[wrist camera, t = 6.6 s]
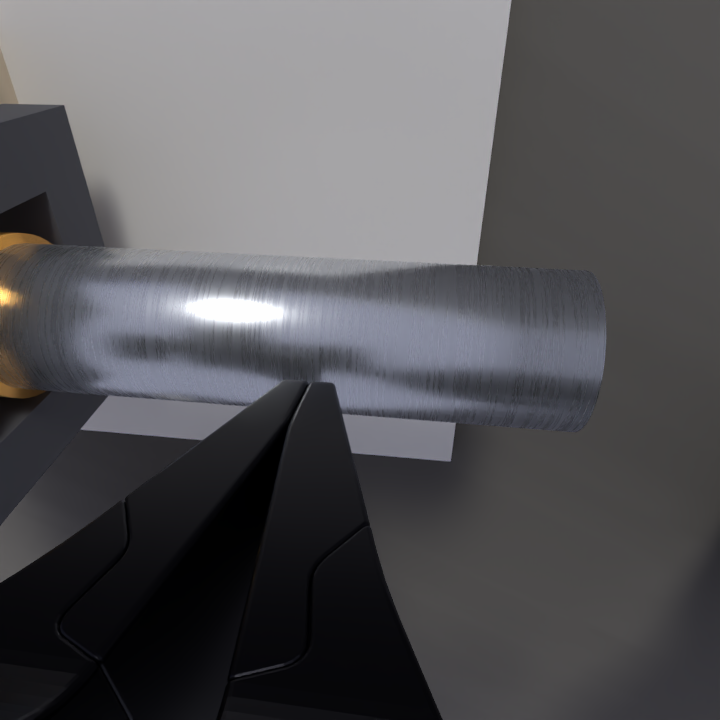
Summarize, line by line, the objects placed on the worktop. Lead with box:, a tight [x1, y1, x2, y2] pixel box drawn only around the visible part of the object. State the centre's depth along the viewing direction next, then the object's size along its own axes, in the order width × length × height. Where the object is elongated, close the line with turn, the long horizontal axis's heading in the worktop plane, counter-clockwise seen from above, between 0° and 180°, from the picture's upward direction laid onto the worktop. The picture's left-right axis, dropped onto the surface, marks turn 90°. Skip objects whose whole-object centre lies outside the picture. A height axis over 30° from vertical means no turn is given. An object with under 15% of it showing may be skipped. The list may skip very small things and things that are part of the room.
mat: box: [0, 0, 511, 462], centre depth 15 cm, size 16×16×1 cm
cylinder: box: [0, 232, 606, 432], centre depth 11 cm, size 16×3×3 cm, turn 90°
